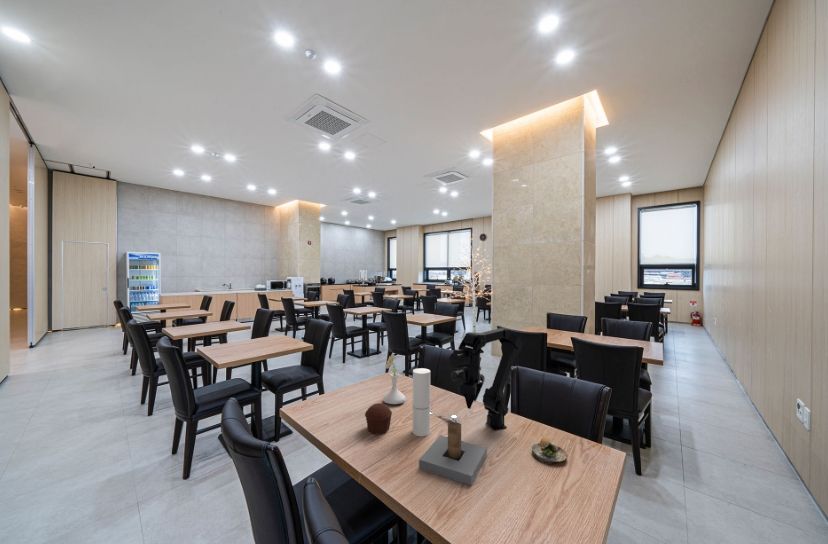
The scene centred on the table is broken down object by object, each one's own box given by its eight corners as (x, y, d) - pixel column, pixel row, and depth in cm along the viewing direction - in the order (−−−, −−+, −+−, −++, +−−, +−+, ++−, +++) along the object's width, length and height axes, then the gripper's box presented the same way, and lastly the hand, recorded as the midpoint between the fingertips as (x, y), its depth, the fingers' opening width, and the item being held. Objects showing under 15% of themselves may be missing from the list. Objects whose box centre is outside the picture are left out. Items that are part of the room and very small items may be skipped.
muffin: (367, 422, 137) (367, 399, 137) (393, 423, 137) (393, 399, 137) (362, 436, 125) (362, 411, 125) (390, 437, 125) (390, 411, 125)
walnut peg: (450, 458, 111) (450, 421, 111) (461, 461, 109) (461, 423, 109) (445, 464, 107) (446, 425, 107) (457, 467, 105) (457, 428, 105)
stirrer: (419, 404, 147) (425, 401, 151) (418, 412, 147) (424, 408, 151) (456, 419, 135) (461, 415, 139) (455, 427, 135) (461, 423, 139)
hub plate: (440, 443, 121) (440, 435, 121) (486, 455, 112) (486, 447, 112) (418, 468, 105) (419, 459, 105) (471, 485, 96) (471, 475, 96)
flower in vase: (385, 396, 165) (386, 349, 166) (407, 398, 164) (407, 350, 164) (379, 407, 153) (380, 355, 153) (402, 408, 151) (403, 356, 151)
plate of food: (553, 470, 105) (553, 447, 105) (524, 453, 115) (524, 432, 115) (574, 459, 111) (574, 438, 111) (545, 444, 121) (545, 424, 121)
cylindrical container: (432, 429, 131) (432, 369, 131) (427, 437, 124) (427, 374, 125) (415, 426, 133) (416, 367, 134) (410, 434, 127) (410, 372, 127)
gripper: (459, 357, 138) (458, 394, 137) (446, 367, 121) (445, 408, 120) (485, 361, 133) (484, 398, 133) (474, 371, 116) (474, 414, 116)
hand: (471, 404), depth 125 cm, fingers open, 9 cm apart
